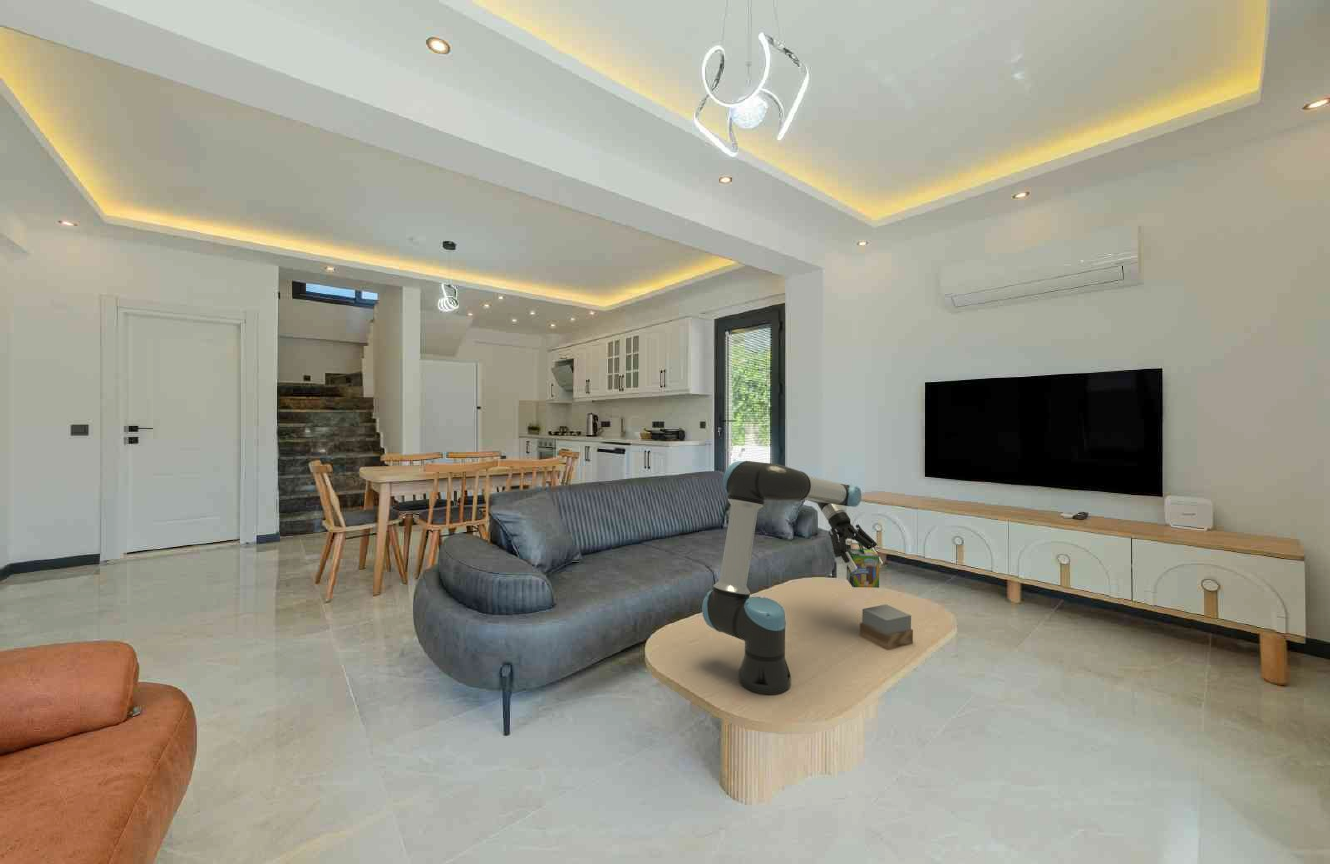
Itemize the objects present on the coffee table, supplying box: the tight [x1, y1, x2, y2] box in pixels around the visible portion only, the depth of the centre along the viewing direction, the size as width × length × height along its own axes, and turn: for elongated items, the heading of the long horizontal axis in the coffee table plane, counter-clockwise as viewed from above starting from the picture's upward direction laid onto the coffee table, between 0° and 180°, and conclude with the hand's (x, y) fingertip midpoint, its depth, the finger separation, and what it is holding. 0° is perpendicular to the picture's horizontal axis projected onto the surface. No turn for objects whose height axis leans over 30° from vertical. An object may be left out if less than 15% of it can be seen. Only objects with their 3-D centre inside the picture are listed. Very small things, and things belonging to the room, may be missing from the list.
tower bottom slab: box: [859, 622, 914, 651], centre depth 181 cm, size 12×12×5 cm
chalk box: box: [846, 542, 880, 589], centre depth 186 cm, size 9×9×15 cm
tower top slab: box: [861, 604, 912, 635], centre depth 181 cm, size 11×11×5 cm
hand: (867, 567), depth 184 cm, fingers closed on chalk box, 12 cm apart
